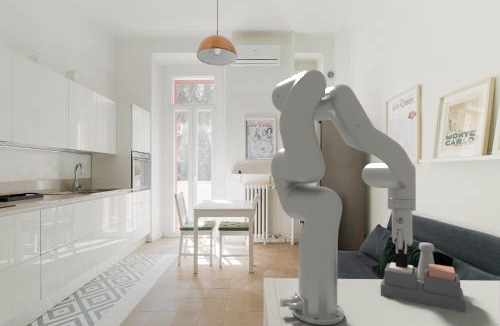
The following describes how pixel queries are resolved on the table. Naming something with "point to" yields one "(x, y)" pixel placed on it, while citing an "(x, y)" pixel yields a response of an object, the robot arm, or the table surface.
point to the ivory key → (401, 268)
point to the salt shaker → (425, 258)
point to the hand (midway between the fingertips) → (401, 266)
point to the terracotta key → (441, 272)
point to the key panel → (423, 289)
